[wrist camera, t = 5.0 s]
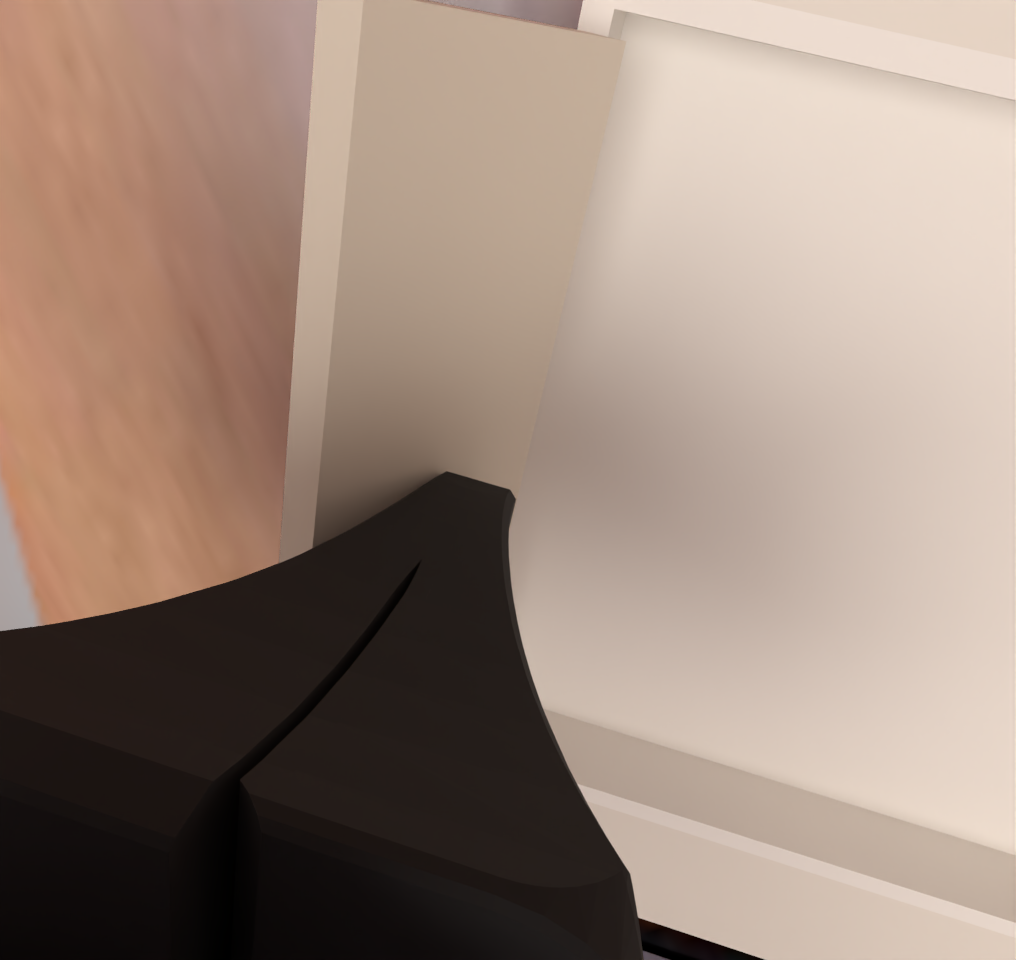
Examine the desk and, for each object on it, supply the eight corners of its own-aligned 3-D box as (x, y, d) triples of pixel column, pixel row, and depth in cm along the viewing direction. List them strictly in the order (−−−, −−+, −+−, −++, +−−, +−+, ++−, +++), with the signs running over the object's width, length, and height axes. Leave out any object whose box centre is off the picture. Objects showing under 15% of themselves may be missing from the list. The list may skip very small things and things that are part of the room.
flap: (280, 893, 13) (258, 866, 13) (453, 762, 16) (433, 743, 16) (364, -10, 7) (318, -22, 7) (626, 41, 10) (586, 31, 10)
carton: (1100, 987, 19) (1139, 1082, 17) (432, 772, 20) (406, 840, 19) (2136, -23, 9) (2482, -37, 7) (670, -303, 10) (661, -372, 9)
